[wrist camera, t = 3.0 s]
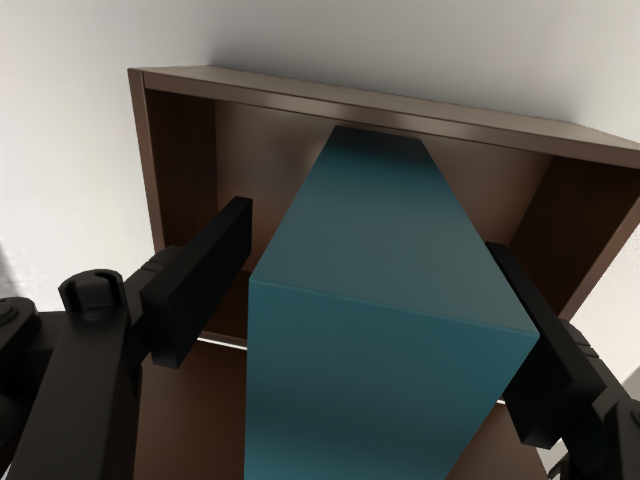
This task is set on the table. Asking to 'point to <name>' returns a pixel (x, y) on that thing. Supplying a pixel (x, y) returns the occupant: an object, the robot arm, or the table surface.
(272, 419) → the block
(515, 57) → the table surface
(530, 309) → the robot arm
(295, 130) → the chest
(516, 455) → the lid
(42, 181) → the table surface
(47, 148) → the table surface
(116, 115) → the table surface
